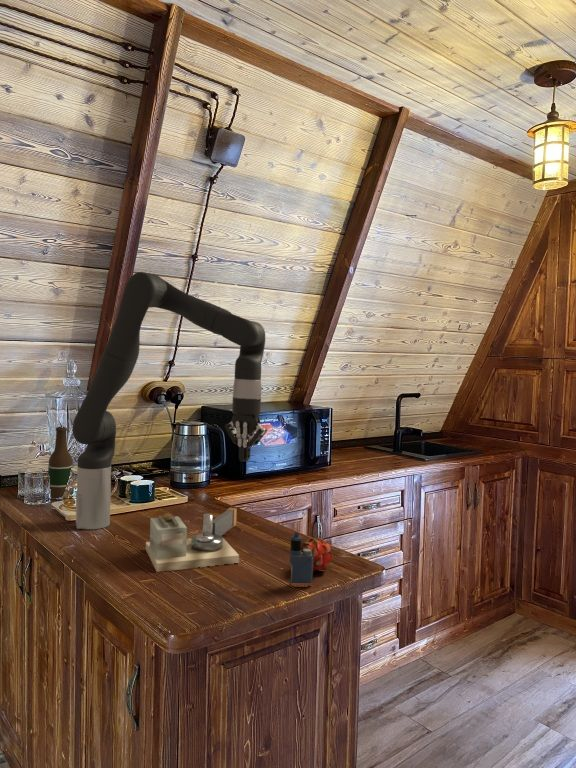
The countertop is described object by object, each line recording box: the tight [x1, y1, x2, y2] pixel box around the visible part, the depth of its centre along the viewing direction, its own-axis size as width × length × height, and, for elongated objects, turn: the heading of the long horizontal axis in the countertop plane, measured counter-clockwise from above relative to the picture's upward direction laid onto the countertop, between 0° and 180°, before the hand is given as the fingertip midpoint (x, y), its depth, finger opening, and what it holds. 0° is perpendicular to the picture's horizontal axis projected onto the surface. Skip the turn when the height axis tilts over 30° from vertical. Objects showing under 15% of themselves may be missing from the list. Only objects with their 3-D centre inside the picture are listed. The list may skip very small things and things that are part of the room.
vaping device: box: [289, 531, 314, 584], centre depth 132 cm, size 3×5×12 cm, turn 95°
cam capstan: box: [190, 507, 238, 551], centre depth 157 cm, size 22×8×8 cm, turn 165°
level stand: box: [145, 512, 240, 573], centre depth 148 cm, size 20×16×11 cm
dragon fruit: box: [301, 537, 334, 571], centre depth 142 cm, size 8×8×12 cm
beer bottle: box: [47, 426, 74, 498], centre depth 199 cm, size 8×8×24 cm
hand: (244, 460), depth 158 cm, fingers closed
